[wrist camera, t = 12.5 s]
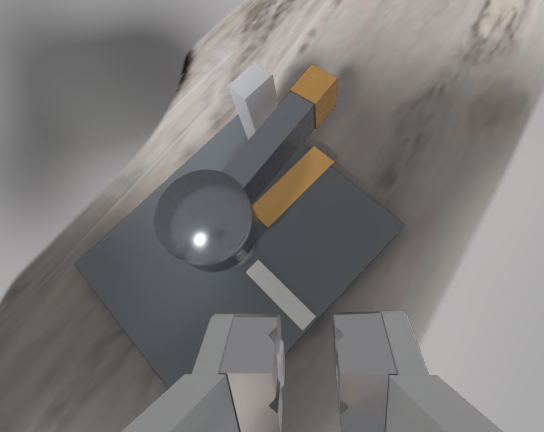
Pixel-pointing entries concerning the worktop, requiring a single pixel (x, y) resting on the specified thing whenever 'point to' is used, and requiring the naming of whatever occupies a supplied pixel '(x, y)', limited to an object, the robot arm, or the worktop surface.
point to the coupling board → (199, 294)
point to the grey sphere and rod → (239, 182)
